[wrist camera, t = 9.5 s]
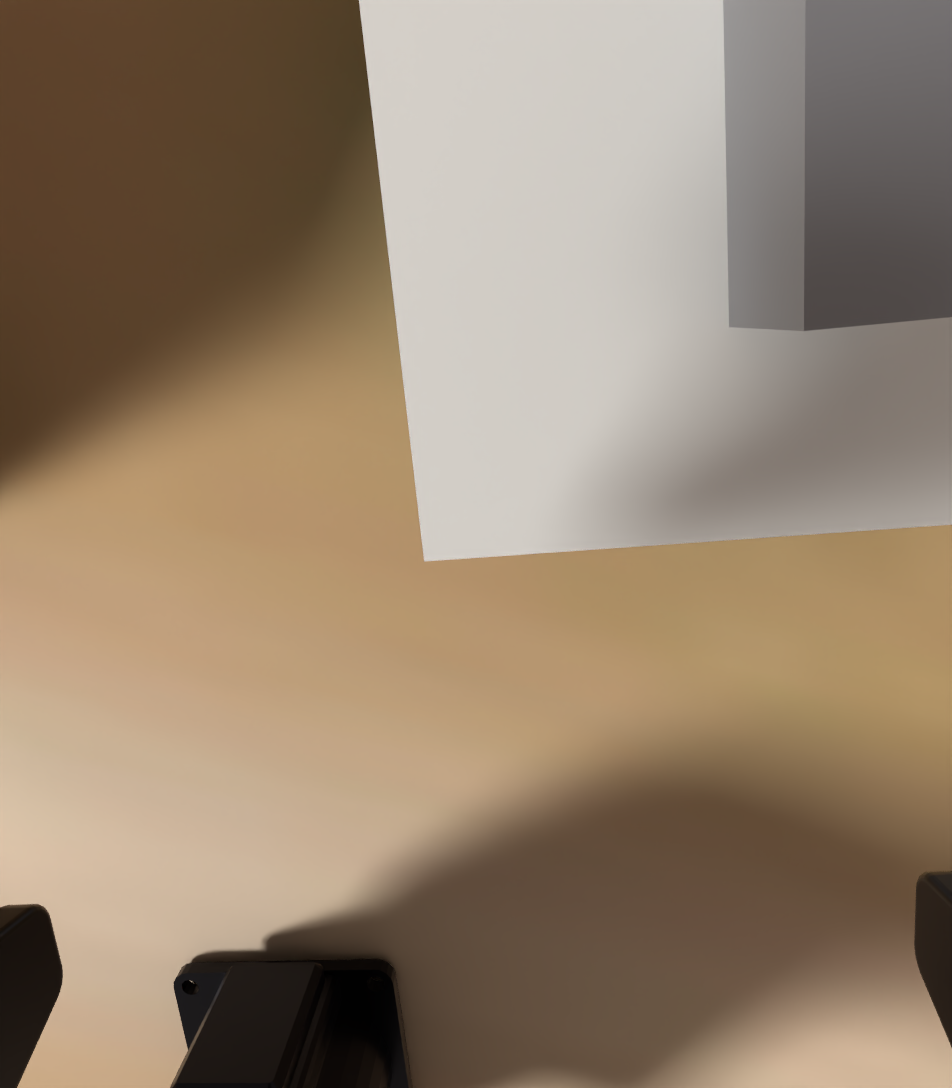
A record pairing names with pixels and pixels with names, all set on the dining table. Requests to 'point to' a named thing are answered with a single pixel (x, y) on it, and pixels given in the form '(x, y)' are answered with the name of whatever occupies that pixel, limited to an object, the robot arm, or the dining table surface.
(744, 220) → the lid
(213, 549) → the dining table surface
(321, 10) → the dining table surface
